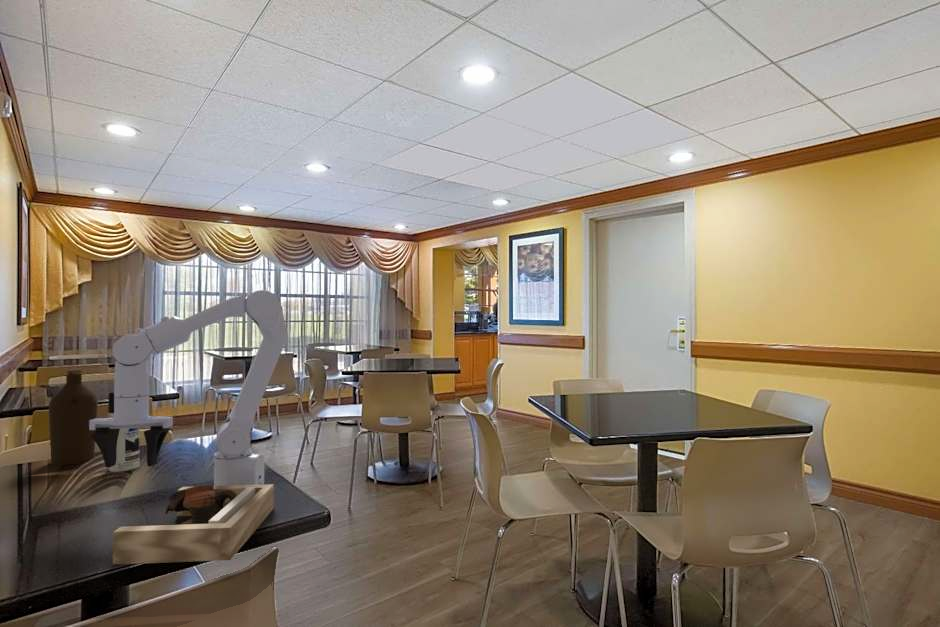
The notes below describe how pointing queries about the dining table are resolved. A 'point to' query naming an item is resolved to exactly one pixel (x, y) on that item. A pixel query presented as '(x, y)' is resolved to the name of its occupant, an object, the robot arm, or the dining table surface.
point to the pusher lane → (194, 534)
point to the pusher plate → (233, 506)
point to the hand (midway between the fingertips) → (131, 465)
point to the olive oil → (72, 421)
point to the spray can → (125, 444)
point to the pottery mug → (199, 502)
